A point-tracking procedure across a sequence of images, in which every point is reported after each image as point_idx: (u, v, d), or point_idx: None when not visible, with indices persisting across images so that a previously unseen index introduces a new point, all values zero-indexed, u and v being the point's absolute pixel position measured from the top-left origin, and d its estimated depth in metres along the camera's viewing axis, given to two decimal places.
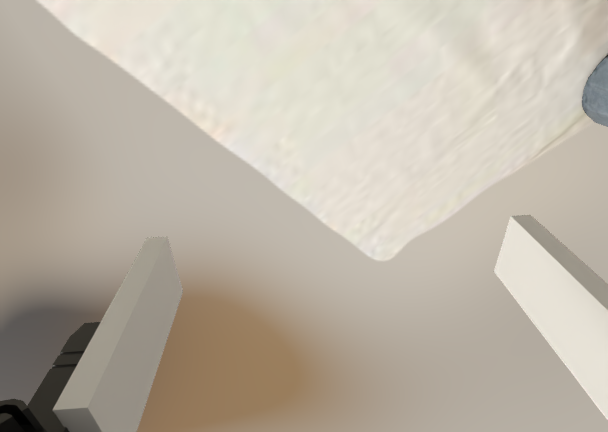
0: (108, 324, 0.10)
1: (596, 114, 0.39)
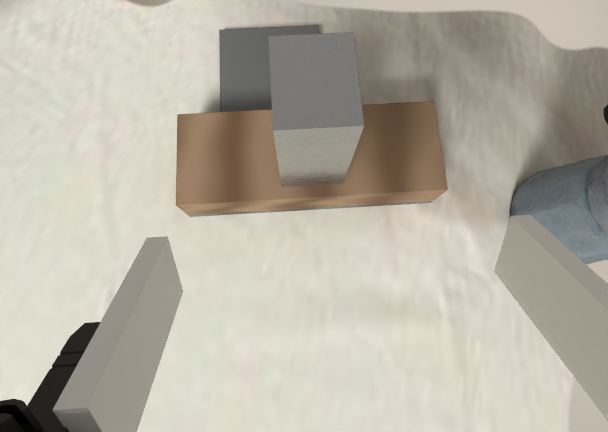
0: (108, 324, 0.10)
1: None
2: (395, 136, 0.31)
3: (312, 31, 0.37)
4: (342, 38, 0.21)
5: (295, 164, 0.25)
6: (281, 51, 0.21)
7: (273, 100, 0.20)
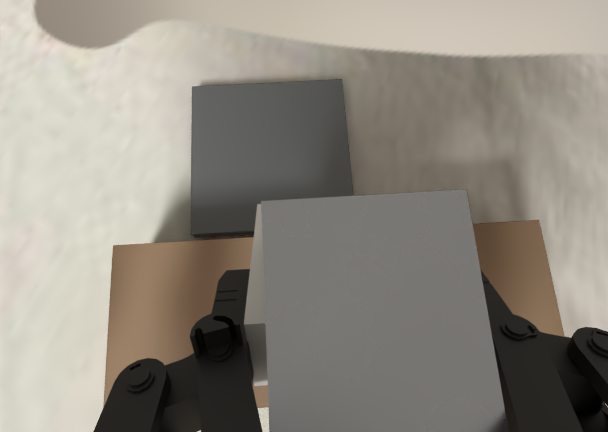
0: (258, 267, 0.12)
1: None
2: None
3: (332, 88, 0.24)
4: (439, 205, 0.09)
5: None
6: (292, 242, 0.09)
7: (273, 389, 0.08)
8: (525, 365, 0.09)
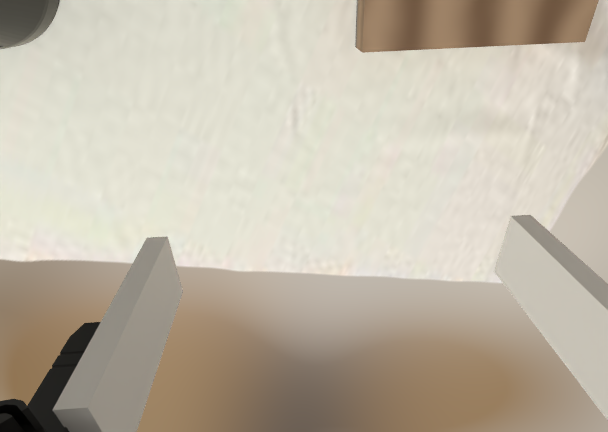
0: (108, 324, 0.10)
1: None
2: None
3: None
4: None
5: None
6: None
7: None
8: None
